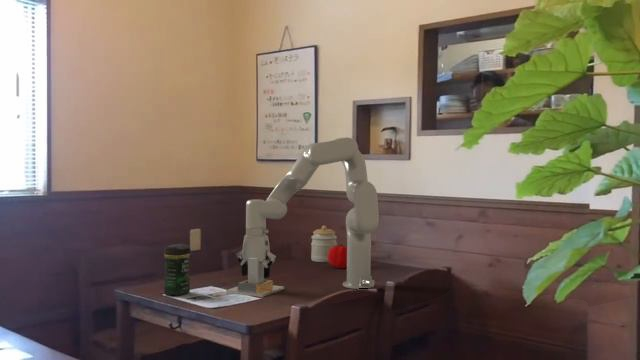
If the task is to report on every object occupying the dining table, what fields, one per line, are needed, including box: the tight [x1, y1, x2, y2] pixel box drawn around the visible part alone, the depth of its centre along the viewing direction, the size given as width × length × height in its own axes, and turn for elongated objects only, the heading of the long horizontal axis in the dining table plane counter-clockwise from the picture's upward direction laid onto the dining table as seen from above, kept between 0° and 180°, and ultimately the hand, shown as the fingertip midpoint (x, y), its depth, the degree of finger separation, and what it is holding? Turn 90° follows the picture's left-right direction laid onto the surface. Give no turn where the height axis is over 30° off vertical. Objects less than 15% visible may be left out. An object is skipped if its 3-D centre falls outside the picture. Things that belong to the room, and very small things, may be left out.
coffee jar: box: [163, 243, 191, 296], centre depth 228 cm, size 10×8×19 cm
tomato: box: [328, 244, 347, 269], centre depth 286 cm, size 12×12×11 cm
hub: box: [225, 279, 285, 298], centre depth 234 cm, size 16×16×4 cm
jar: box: [310, 225, 338, 263], centre depth 306 cm, size 13×13×18 cm
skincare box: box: [247, 258, 265, 284], centre depth 234 cm, size 6×4×12 cm
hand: (255, 276), depth 234 cm, fingers open, 9 cm apart
